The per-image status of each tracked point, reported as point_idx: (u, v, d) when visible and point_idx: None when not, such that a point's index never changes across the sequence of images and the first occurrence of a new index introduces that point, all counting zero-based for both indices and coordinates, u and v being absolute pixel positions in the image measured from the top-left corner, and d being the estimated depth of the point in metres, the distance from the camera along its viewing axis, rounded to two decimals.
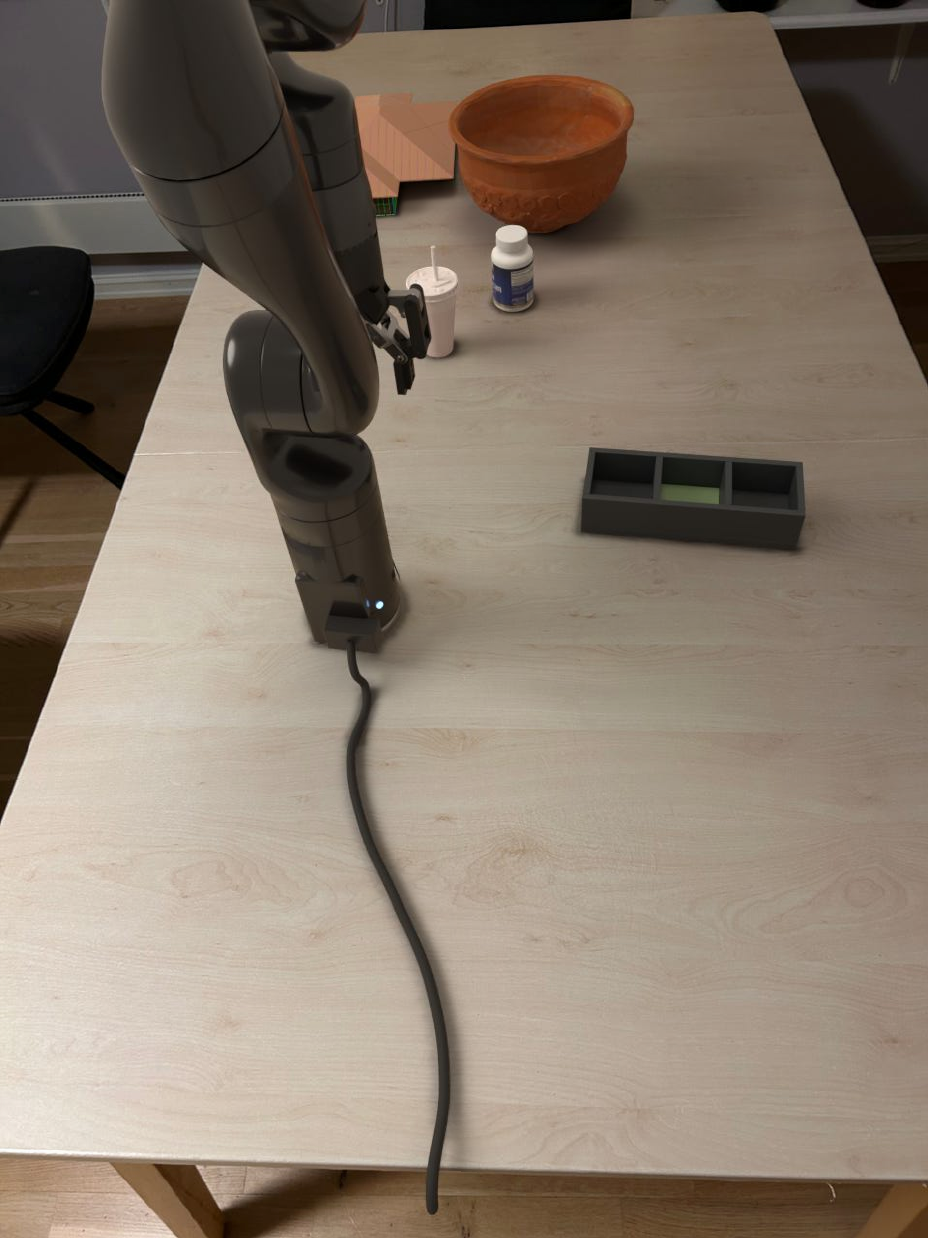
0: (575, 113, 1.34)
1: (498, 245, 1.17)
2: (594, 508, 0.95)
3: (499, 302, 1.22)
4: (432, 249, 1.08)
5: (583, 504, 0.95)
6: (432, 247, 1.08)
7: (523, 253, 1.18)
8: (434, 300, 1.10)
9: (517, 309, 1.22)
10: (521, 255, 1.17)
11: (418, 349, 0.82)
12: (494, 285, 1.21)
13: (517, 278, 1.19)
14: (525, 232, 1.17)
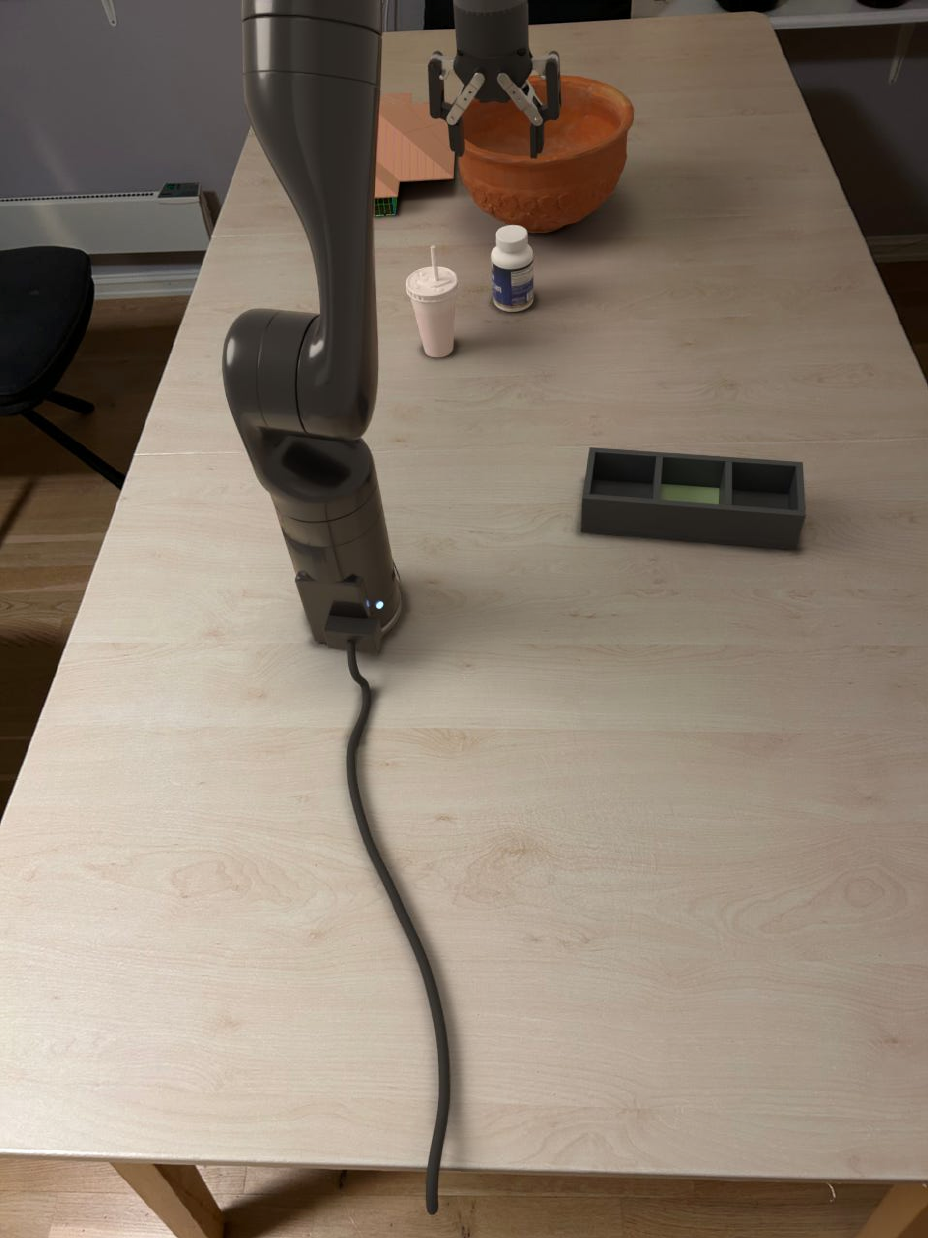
0: (575, 113, 1.34)
1: (498, 245, 1.17)
2: (594, 508, 0.95)
3: (499, 302, 1.22)
4: (432, 249, 1.08)
5: (583, 504, 0.95)
6: (432, 247, 1.08)
7: (523, 253, 1.18)
8: (434, 300, 1.10)
9: (517, 309, 1.22)
10: (521, 255, 1.17)
11: (552, 110, 1.00)
12: (494, 285, 1.21)
13: (517, 278, 1.19)
14: (525, 232, 1.17)
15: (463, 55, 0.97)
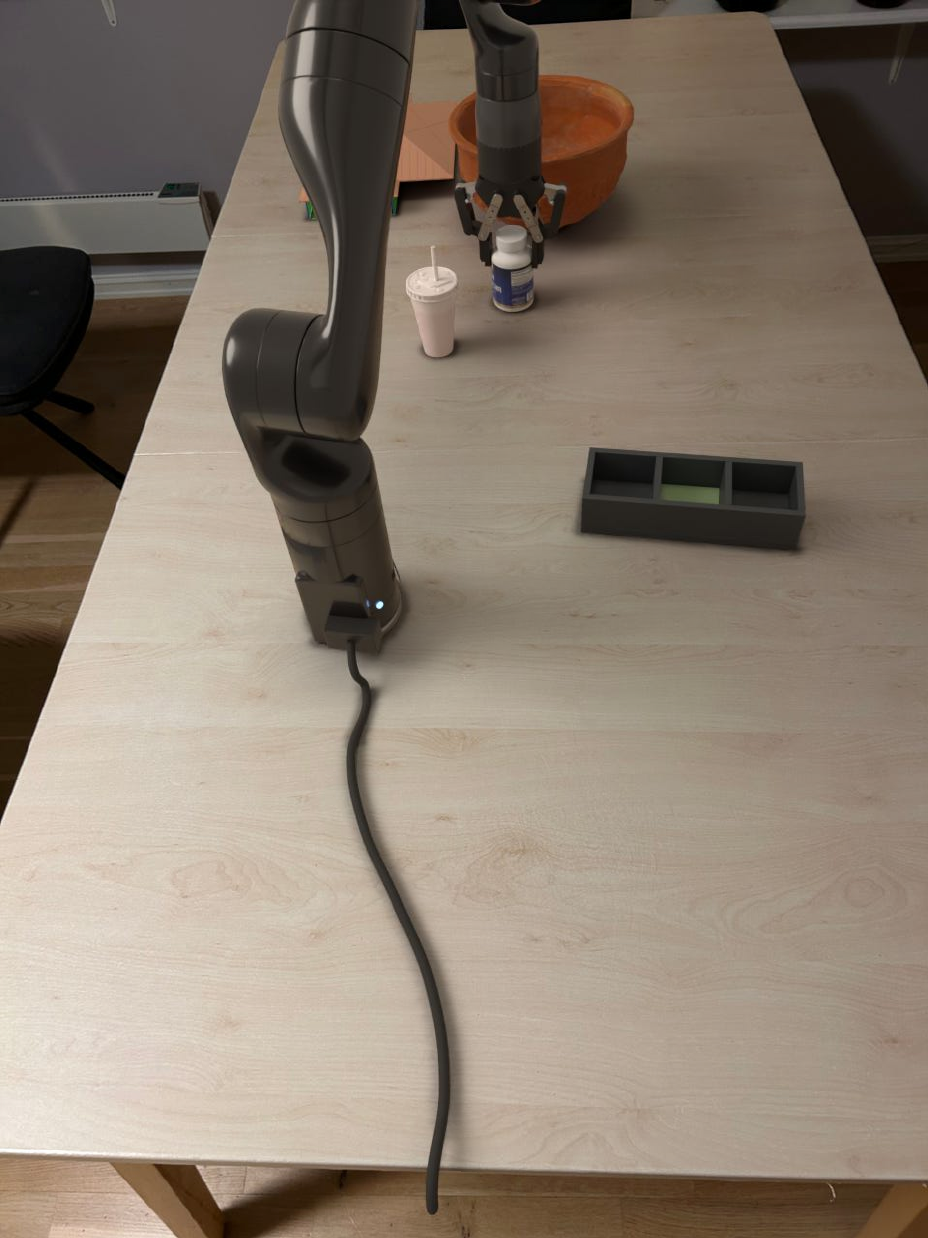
0: (575, 113, 1.34)
1: (498, 245, 1.17)
2: (594, 508, 0.95)
3: (499, 302, 1.22)
4: (432, 249, 1.08)
5: (583, 504, 0.95)
6: (432, 247, 1.08)
7: (523, 253, 1.18)
8: (434, 300, 1.10)
9: (517, 309, 1.22)
10: (521, 255, 1.17)
11: (552, 230, 1.14)
12: (494, 285, 1.21)
13: (517, 278, 1.19)
14: (525, 232, 1.17)
15: (484, 179, 1.11)
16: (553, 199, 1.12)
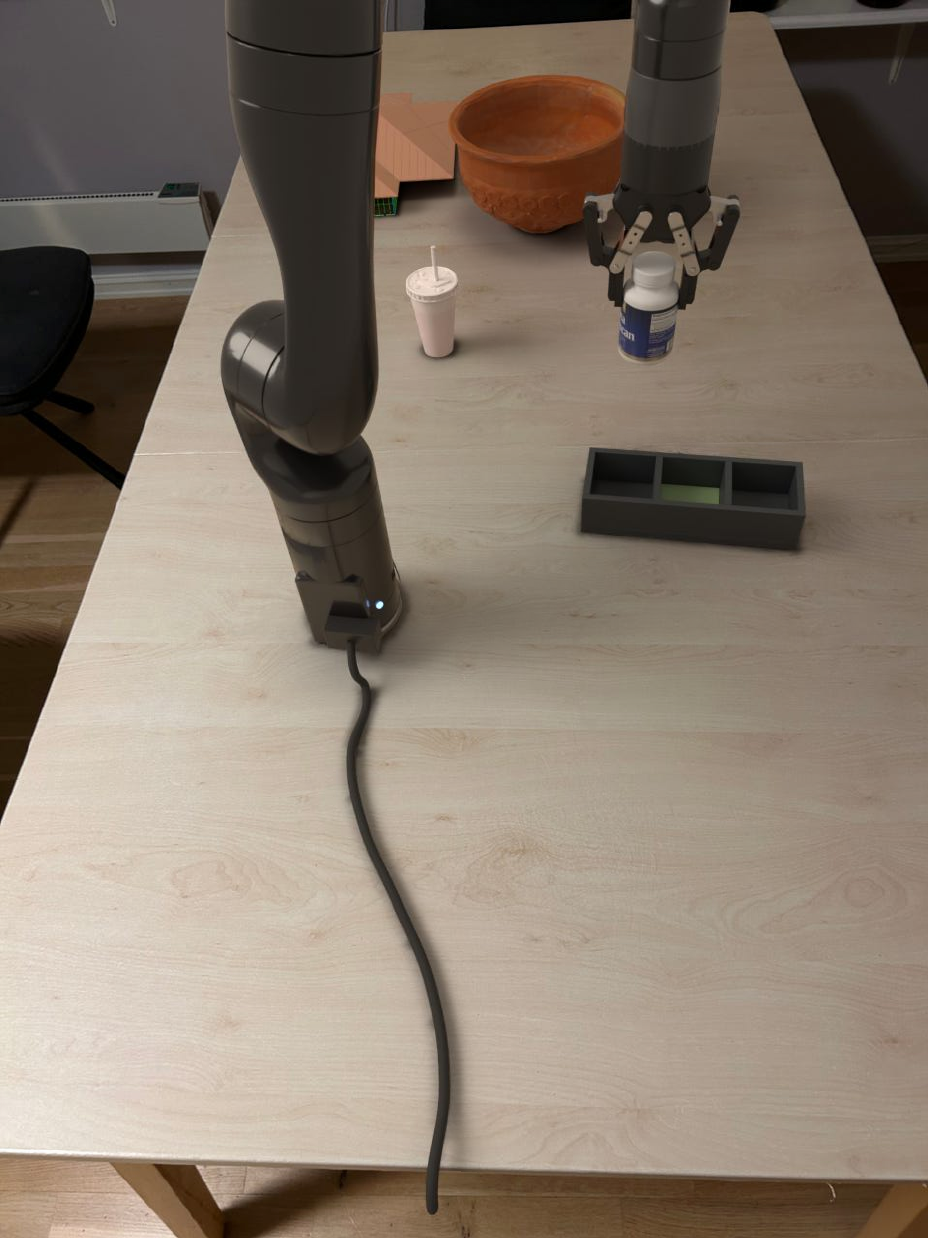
0: (575, 113, 1.34)
1: (636, 279, 0.86)
2: (594, 508, 0.95)
3: (629, 353, 0.92)
4: (432, 249, 1.08)
5: (583, 504, 0.95)
6: (432, 247, 1.08)
7: (669, 289, 0.87)
8: (434, 300, 1.10)
9: (652, 362, 0.92)
10: (666, 292, 0.87)
11: (714, 260, 0.84)
12: (624, 331, 0.91)
13: (659, 323, 0.88)
14: (673, 261, 0.86)
15: (627, 190, 0.81)
16: (721, 218, 0.81)
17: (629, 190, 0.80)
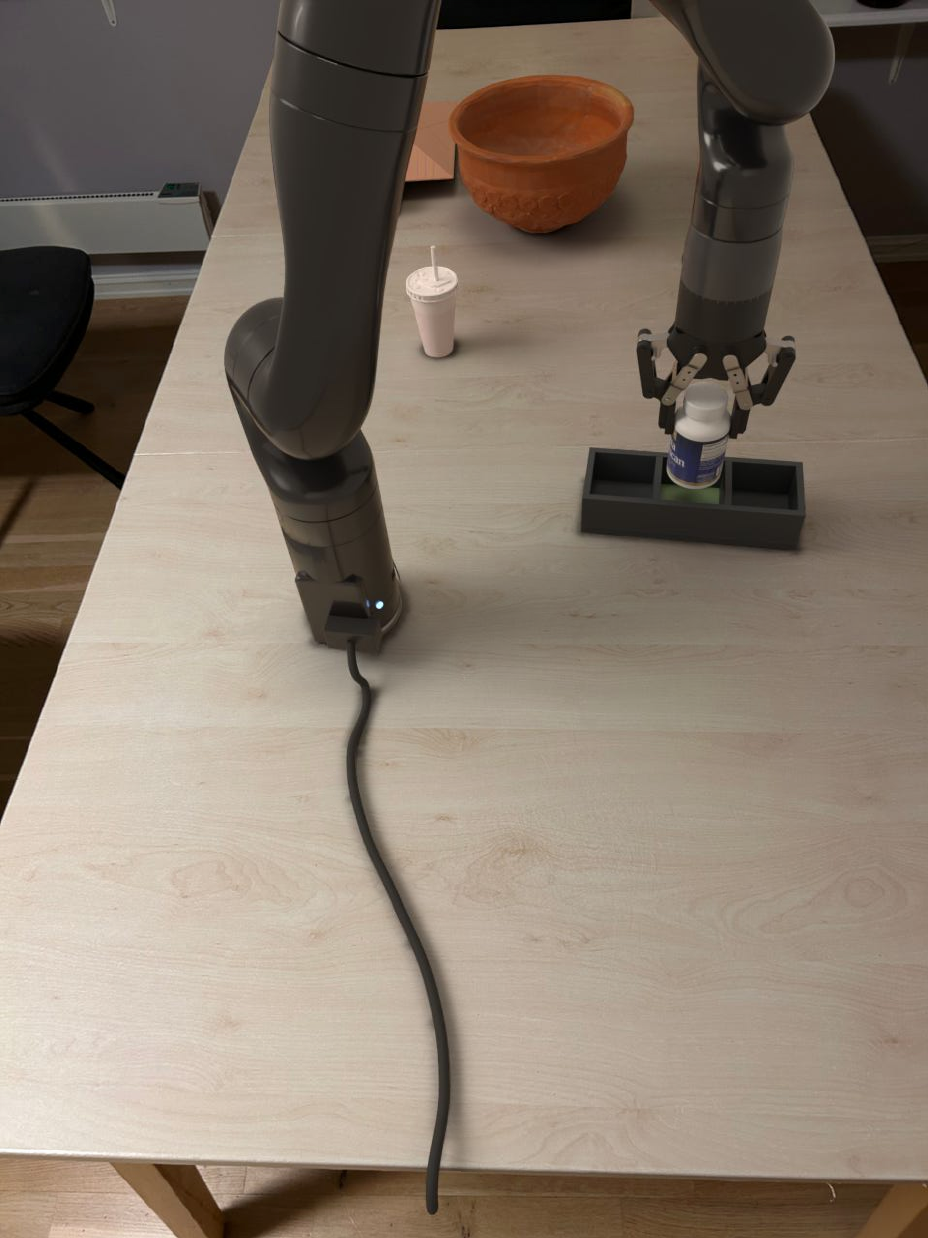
0: (575, 113, 1.34)
1: (688, 411, 0.86)
2: (594, 508, 0.95)
3: (678, 477, 0.92)
4: (432, 249, 1.08)
5: (583, 504, 0.95)
6: (432, 247, 1.08)
7: (721, 421, 0.87)
8: (434, 300, 1.10)
9: (701, 487, 0.92)
10: (718, 423, 0.87)
11: (768, 397, 0.84)
12: (674, 457, 0.91)
13: (710, 452, 0.88)
14: (725, 394, 0.86)
15: (683, 333, 0.80)
16: (776, 359, 0.81)
17: (684, 333, 0.80)
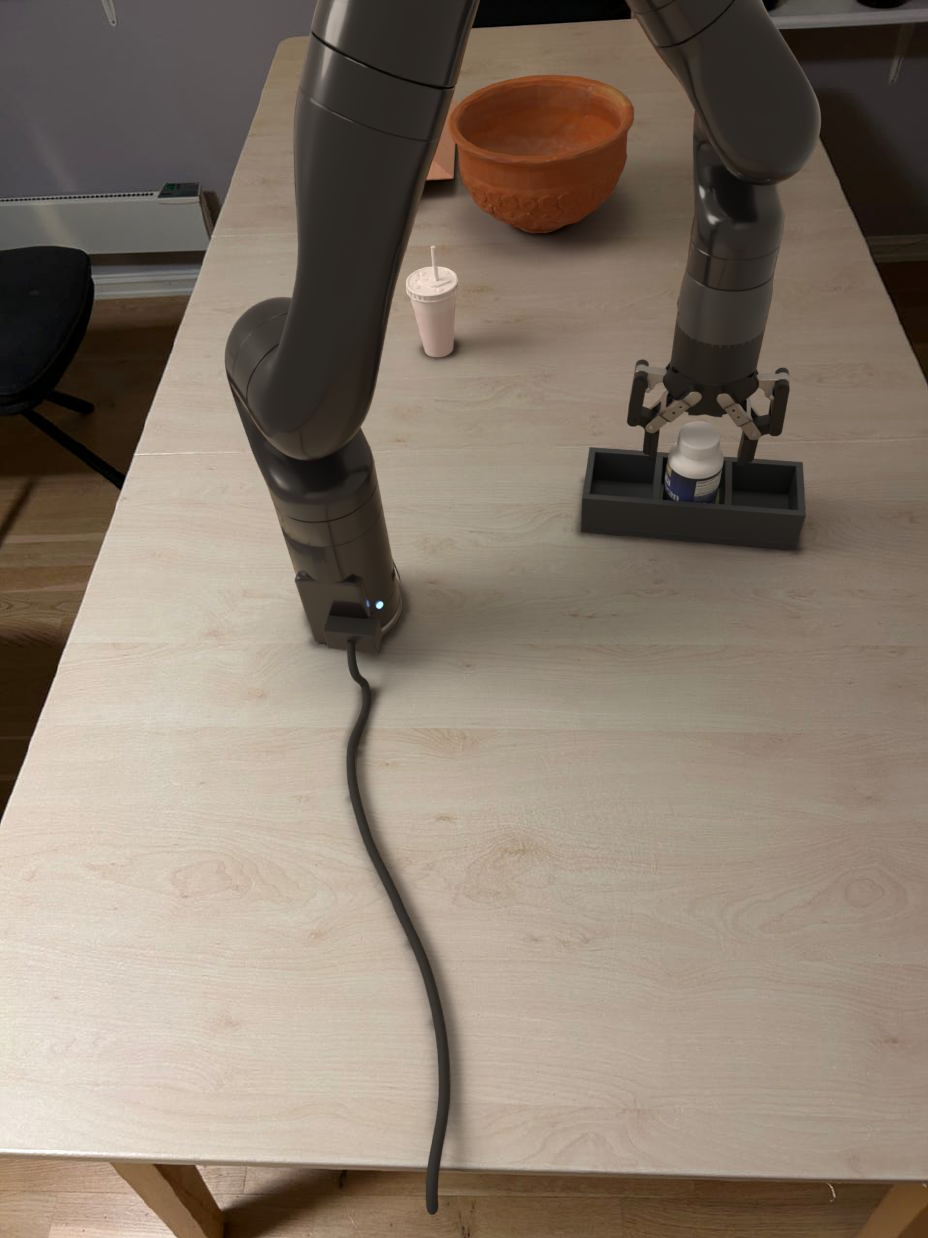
0: (575, 113, 1.34)
1: (682, 450, 0.90)
2: (594, 508, 0.95)
3: None
4: (432, 249, 1.08)
5: (583, 504, 0.95)
6: (432, 247, 1.08)
7: (714, 458, 0.91)
8: (434, 300, 1.10)
9: None
10: (711, 461, 0.91)
11: (775, 427, 0.86)
12: (669, 492, 0.94)
13: (703, 488, 0.92)
14: (718, 433, 0.90)
15: (678, 372, 0.84)
16: (772, 392, 0.84)
17: (680, 372, 0.83)
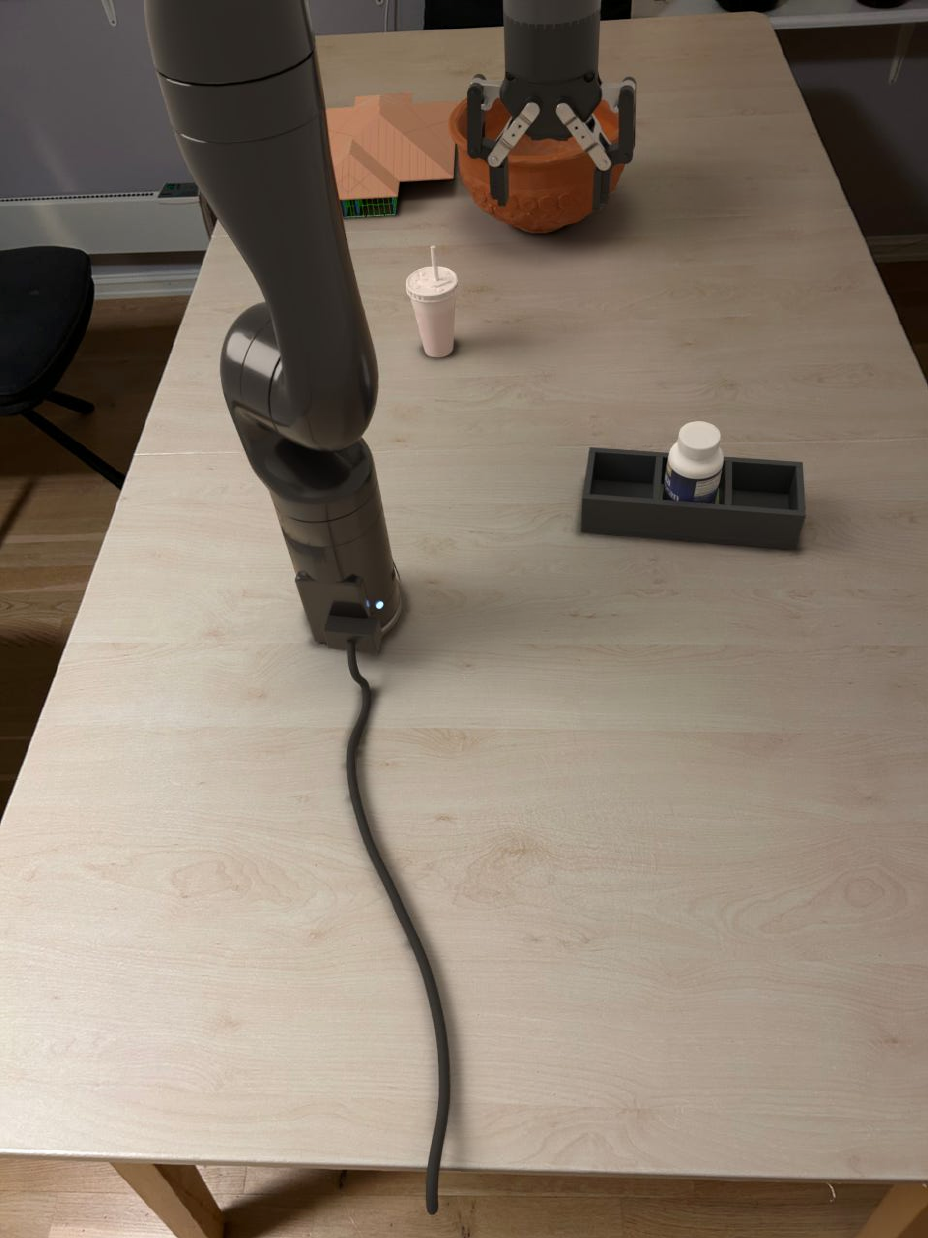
0: None
1: (682, 450, 0.90)
2: (594, 508, 0.95)
3: None
4: (432, 249, 1.08)
5: (583, 504, 0.95)
6: (432, 247, 1.08)
7: (714, 459, 0.91)
8: (434, 300, 1.10)
9: None
10: (711, 461, 0.91)
11: (624, 151, 0.78)
12: (669, 492, 0.94)
13: (703, 488, 0.92)
14: (718, 433, 0.90)
15: (513, 80, 0.76)
16: (617, 104, 0.76)
17: (514, 79, 0.76)
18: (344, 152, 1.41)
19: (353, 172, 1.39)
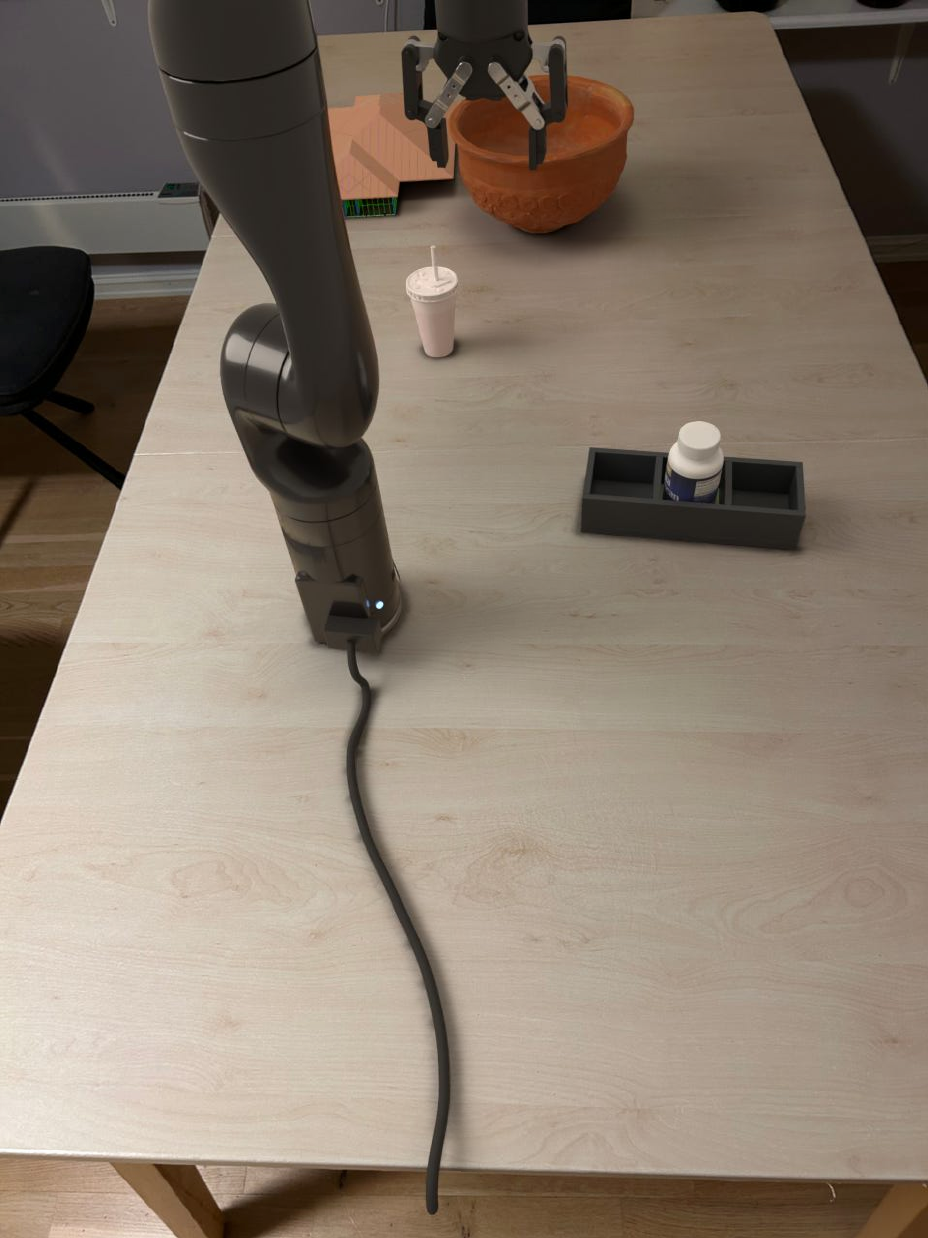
0: (575, 113, 1.34)
1: (682, 450, 0.90)
2: (594, 508, 0.95)
3: None
4: (432, 249, 1.08)
5: (583, 504, 0.95)
6: (432, 247, 1.08)
7: (714, 459, 0.91)
8: (434, 300, 1.10)
9: None
10: (711, 461, 0.91)
11: (557, 110, 0.80)
12: (669, 492, 0.94)
13: (703, 488, 0.92)
14: (718, 433, 0.90)
15: (445, 40, 0.77)
16: (547, 62, 0.78)
17: (447, 39, 0.77)
18: (344, 152, 1.41)
19: (353, 172, 1.39)
